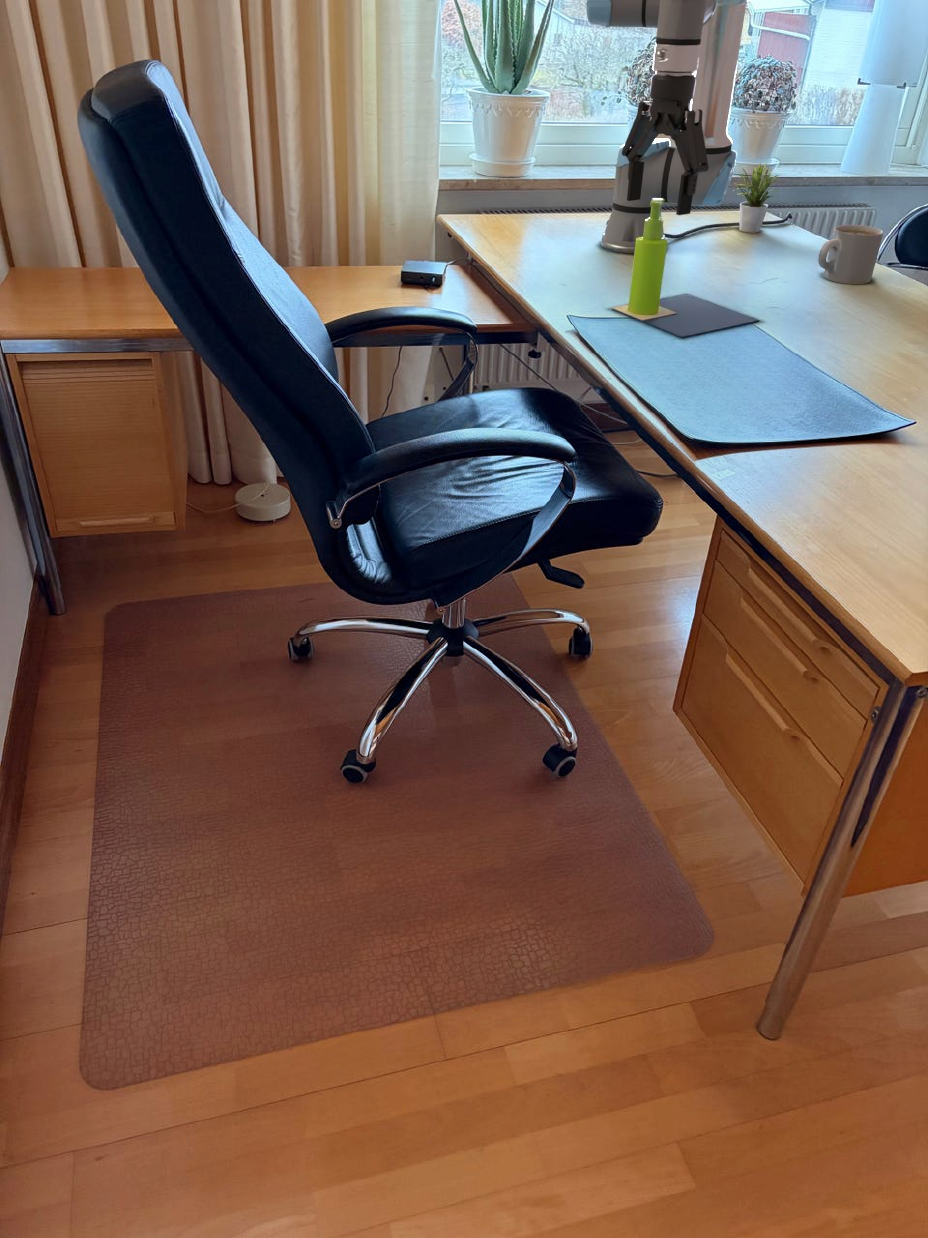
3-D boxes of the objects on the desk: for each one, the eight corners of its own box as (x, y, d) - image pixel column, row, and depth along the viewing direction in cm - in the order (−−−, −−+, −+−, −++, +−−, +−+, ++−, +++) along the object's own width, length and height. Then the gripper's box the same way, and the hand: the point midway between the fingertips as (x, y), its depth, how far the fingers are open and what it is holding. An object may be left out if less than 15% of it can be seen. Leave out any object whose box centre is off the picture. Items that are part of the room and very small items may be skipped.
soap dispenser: (661, 306, 181) (676, 197, 170) (655, 316, 176) (670, 204, 165) (632, 303, 183) (644, 194, 171) (625, 312, 178) (637, 201, 166)
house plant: (717, 221, 246) (728, 154, 236) (770, 223, 244) (783, 156, 235) (722, 233, 234) (733, 163, 225) (777, 236, 233) (791, 165, 223)
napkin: (686, 295, 189) (687, 293, 189) (759, 321, 176) (759, 319, 176) (611, 309, 181) (611, 307, 181) (681, 338, 167) (682, 336, 167)
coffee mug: (857, 271, 206) (869, 223, 201) (879, 283, 198) (892, 234, 193) (801, 272, 205) (811, 225, 199) (820, 284, 197) (832, 235, 191)
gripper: (610, 67, 163) (599, 196, 176) (710, 81, 146) (689, 222, 158) (642, 65, 166) (629, 192, 179) (743, 79, 149) (721, 217, 162)
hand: (657, 206), depth 169 cm, fingers open, 13 cm apart
